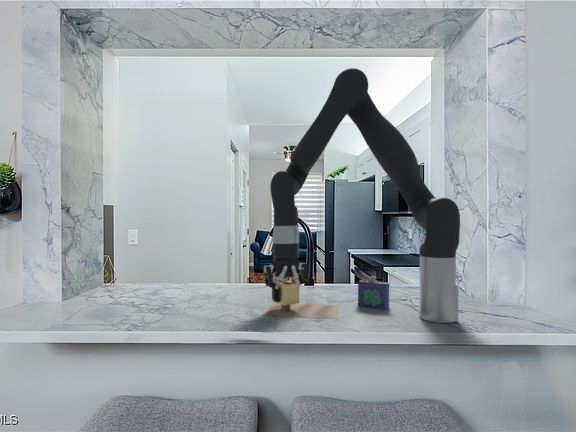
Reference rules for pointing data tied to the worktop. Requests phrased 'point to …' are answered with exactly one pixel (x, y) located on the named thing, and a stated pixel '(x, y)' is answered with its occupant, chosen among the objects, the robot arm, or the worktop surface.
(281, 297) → the cap
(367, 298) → the clover print carton
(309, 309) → the bolt base
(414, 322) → the worktop surface
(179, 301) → the worktop surface
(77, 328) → the worktop surface
